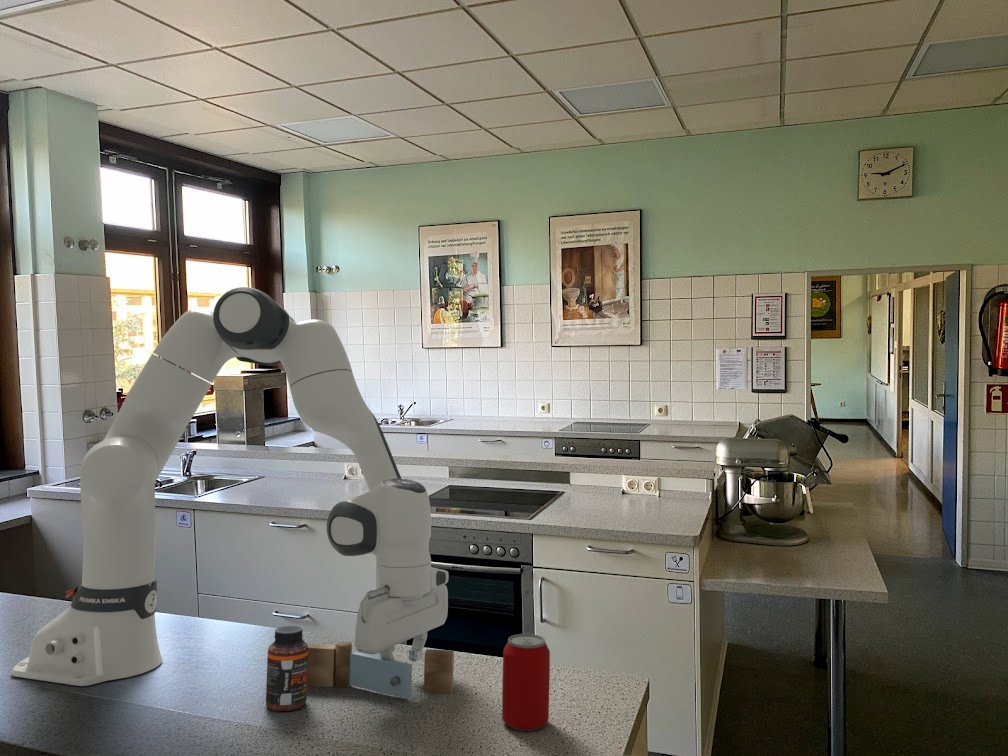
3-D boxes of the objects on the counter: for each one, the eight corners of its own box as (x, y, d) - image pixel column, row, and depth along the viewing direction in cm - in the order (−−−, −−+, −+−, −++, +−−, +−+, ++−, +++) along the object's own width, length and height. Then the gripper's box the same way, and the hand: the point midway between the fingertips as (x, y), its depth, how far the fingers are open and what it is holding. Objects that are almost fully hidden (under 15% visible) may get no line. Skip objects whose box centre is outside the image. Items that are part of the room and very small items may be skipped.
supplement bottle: (295, 715, 112) (297, 636, 112) (257, 710, 113) (260, 633, 114) (313, 699, 118) (315, 625, 118) (277, 695, 119) (279, 622, 119)
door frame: (285, 685, 123) (287, 644, 124) (291, 679, 126) (292, 639, 126) (451, 693, 121) (451, 652, 122) (453, 687, 124) (454, 646, 124)
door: (345, 687, 122) (346, 655, 122) (353, 683, 124) (354, 651, 124) (403, 701, 117) (404, 667, 117) (411, 696, 118) (411, 664, 119)
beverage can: (546, 714, 114) (548, 632, 115) (550, 734, 107) (552, 647, 108) (500, 713, 114) (502, 632, 114) (502, 733, 107) (504, 646, 108)
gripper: (377, 596, 114) (377, 690, 114) (454, 570, 132) (454, 652, 132) (345, 591, 118) (344, 682, 117) (424, 566, 135) (424, 646, 135)
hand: (403, 666), depth 125 cm, fingers open, 5 cm apart
